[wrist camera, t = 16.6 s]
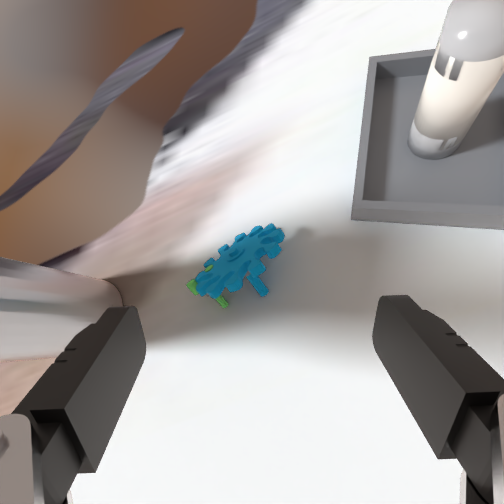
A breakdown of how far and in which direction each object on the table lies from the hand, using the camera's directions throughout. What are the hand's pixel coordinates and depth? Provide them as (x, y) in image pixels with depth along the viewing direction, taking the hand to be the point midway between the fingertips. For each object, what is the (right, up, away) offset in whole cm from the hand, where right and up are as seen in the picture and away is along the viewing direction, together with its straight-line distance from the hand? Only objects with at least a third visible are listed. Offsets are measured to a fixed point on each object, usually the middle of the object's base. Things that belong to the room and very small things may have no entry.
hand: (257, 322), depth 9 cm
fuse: (+18, +14, +18) cm, 29 cm away
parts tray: (+18, +13, +19) cm, 29 cm away
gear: (-1, 0, +21) cm, 21 cm away
